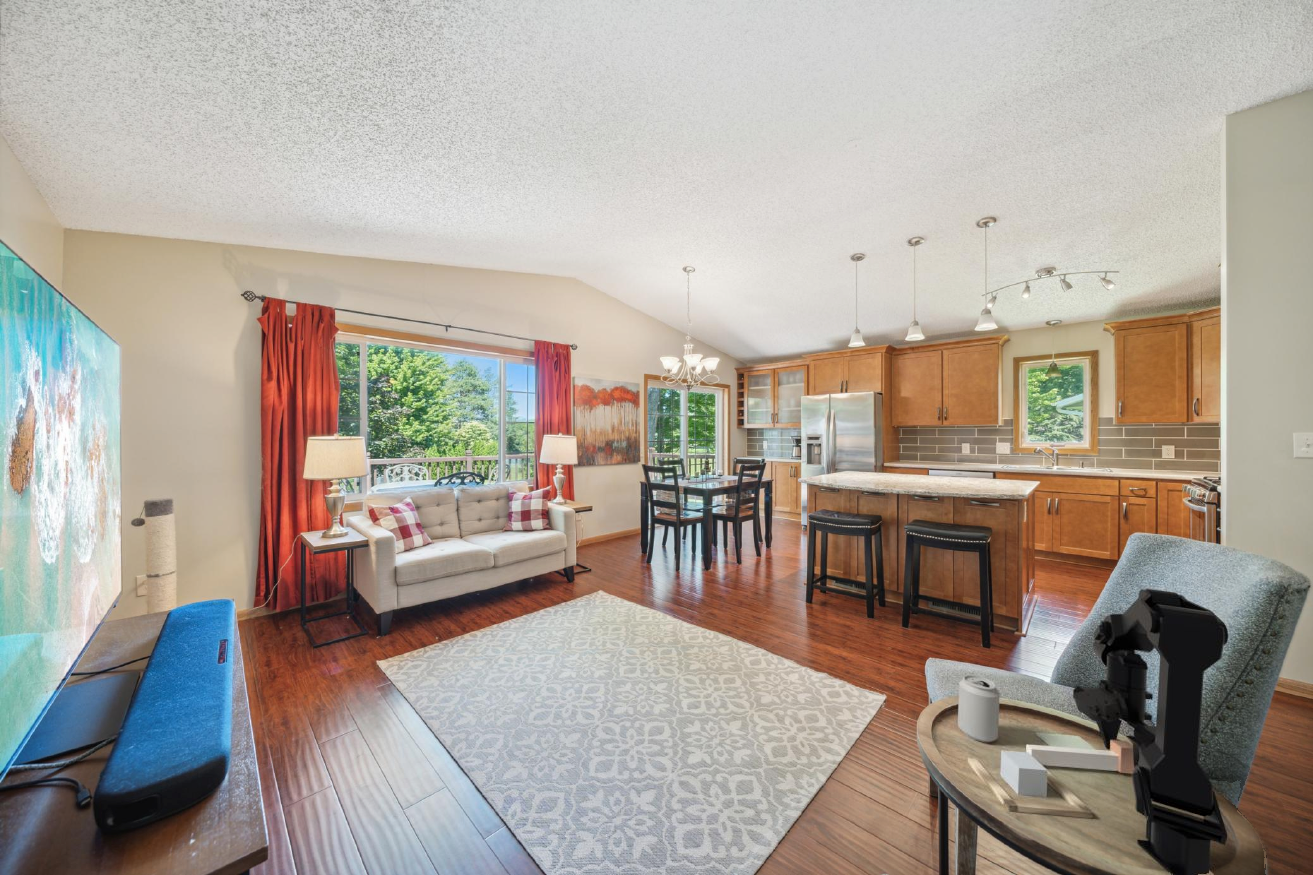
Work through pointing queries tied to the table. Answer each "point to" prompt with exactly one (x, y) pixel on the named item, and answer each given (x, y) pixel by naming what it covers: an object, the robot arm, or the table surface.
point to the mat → (1064, 741)
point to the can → (978, 708)
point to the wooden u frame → (1071, 810)
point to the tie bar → (1086, 757)
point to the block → (1024, 773)
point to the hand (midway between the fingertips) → (1123, 759)
